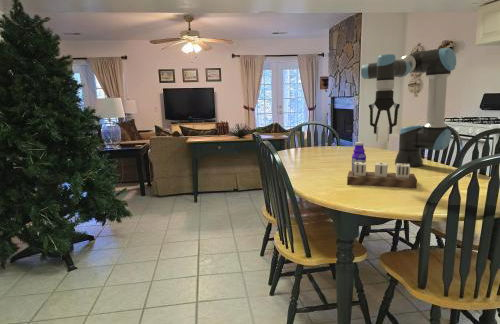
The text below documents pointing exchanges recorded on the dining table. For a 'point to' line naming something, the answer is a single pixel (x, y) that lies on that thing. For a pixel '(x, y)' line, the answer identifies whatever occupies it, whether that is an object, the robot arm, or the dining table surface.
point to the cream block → (381, 169)
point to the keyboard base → (382, 180)
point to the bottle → (358, 154)
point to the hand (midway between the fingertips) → (382, 140)
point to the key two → (360, 168)
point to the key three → (402, 170)
